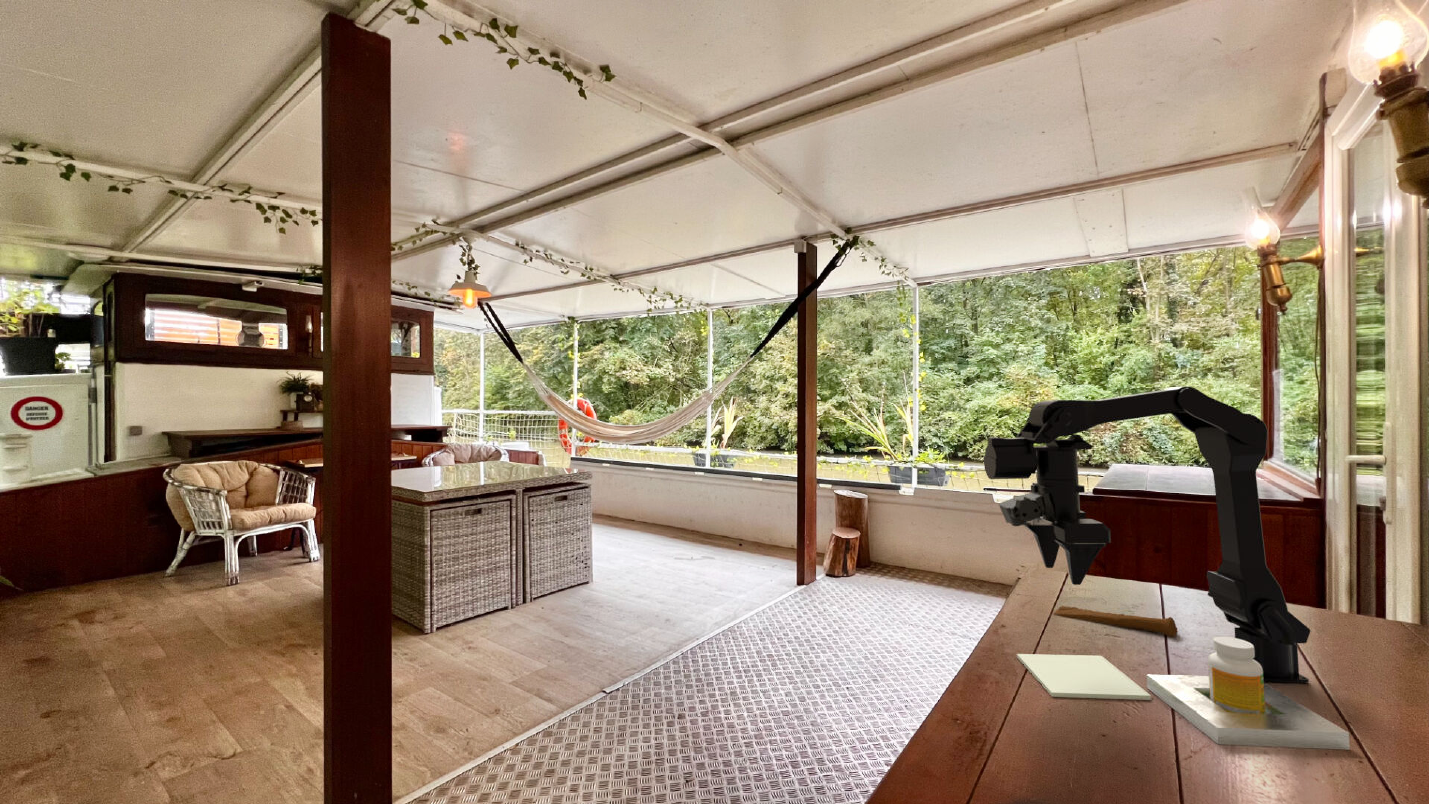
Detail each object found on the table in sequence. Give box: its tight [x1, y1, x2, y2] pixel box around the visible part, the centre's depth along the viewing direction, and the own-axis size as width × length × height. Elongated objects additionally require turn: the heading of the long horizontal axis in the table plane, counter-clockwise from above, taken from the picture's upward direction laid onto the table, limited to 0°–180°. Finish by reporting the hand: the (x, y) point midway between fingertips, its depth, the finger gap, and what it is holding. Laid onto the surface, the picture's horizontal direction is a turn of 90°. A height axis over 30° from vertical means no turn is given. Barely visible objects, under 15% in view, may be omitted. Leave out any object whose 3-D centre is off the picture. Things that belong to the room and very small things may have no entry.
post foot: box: [1146, 674, 1351, 751], centre depth 75 cm, size 14×14×2 cm
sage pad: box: [1016, 653, 1152, 701], centre depth 87 cm, size 13×13×1 cm
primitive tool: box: [1053, 605, 1179, 638], centre depth 108 cm, size 19×6×4 cm, turn 45°
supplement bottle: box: [1207, 636, 1266, 714], centre depth 75 cm, size 5×5×10 cm
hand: (1062, 575), depth 90 cm, fingers open, 9 cm apart
